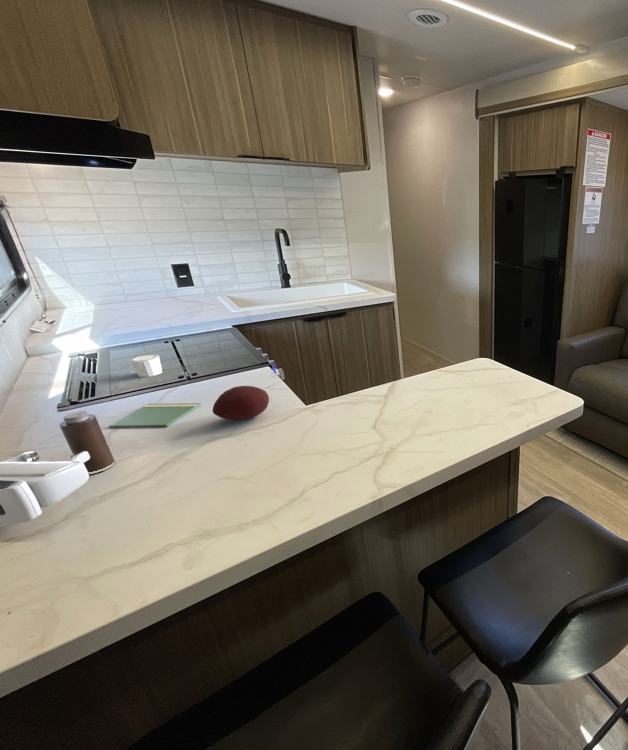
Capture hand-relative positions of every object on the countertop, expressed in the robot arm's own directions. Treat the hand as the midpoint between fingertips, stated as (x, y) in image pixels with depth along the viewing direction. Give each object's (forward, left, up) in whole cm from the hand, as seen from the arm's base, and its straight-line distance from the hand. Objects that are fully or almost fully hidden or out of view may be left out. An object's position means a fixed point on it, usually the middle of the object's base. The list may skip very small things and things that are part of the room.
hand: (59, 454), depth 74 cm
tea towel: (-6, +28, -7) cm, 30 cm away
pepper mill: (0, +5, -7) cm, 8 cm away
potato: (+18, +26, -7) cm, 32 cm away
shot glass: (-28, +54, -7) cm, 61 cm away
